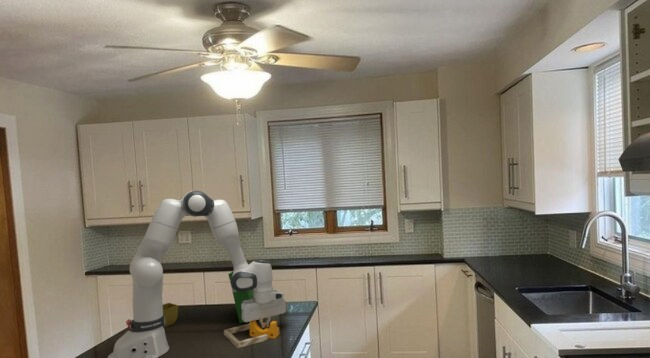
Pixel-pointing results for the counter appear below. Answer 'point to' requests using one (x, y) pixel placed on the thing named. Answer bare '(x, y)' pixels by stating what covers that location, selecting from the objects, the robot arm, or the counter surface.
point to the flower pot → (170, 313)
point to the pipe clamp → (257, 331)
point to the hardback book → (240, 298)
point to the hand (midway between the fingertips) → (265, 327)
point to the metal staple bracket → (243, 343)
